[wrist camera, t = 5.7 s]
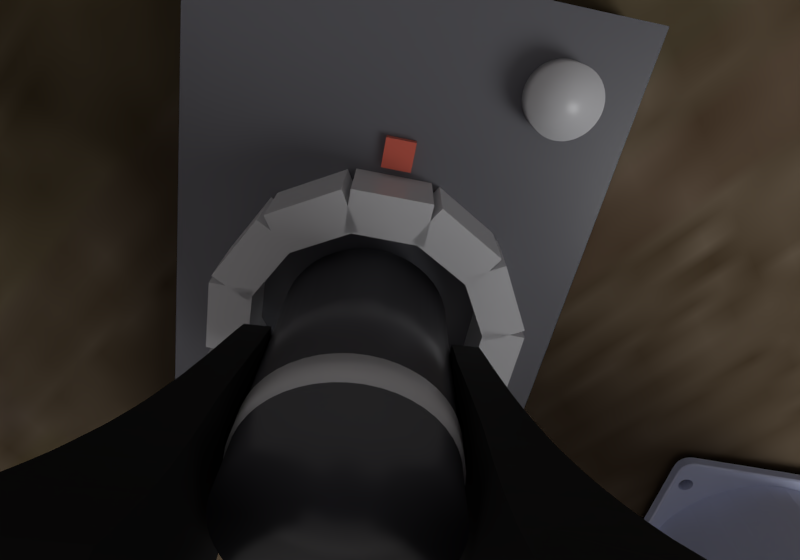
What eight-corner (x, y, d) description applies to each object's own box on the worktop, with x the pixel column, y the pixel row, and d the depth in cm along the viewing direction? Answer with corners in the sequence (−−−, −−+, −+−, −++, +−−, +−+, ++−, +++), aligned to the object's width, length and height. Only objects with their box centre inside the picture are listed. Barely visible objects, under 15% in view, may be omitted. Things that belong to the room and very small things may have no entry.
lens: (482, 317, 14) (529, 523, 9) (374, 413, 15) (356, 642, 10) (352, 211, 13) (313, 377, 7) (248, 327, 14) (151, 535, 9)
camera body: (467, 480, 21) (480, 579, 18) (198, 439, 20) (154, 534, 17) (627, 20, 14) (702, 31, 10) (220, -71, 13) (151, -93, 10)
